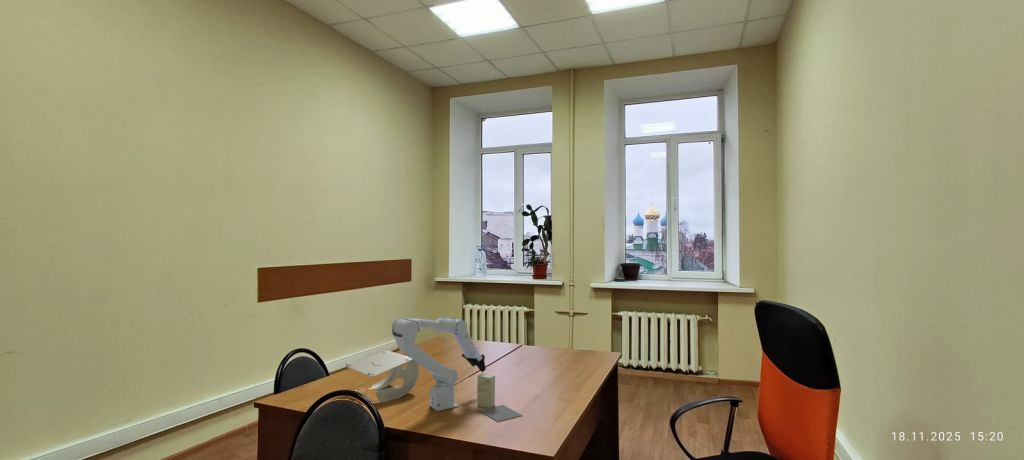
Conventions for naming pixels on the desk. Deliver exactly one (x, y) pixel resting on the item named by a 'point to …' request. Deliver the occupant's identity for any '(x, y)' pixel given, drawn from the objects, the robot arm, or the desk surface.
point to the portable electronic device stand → (383, 364)
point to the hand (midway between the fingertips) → (479, 367)
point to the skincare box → (486, 390)
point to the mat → (500, 413)
